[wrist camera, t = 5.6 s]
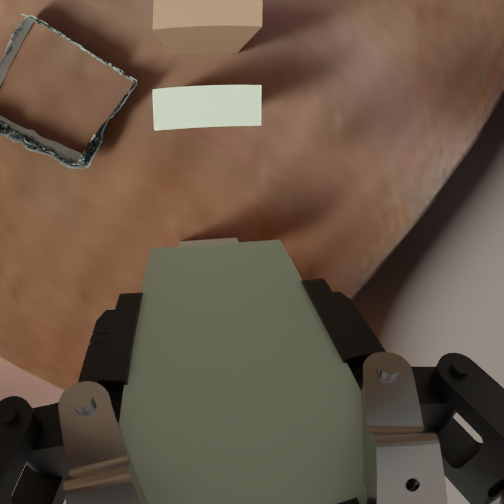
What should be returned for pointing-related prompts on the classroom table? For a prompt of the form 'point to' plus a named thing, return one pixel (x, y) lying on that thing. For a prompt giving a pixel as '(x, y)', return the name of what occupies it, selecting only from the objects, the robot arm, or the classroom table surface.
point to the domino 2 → (238, 384)
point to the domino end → (206, 25)
